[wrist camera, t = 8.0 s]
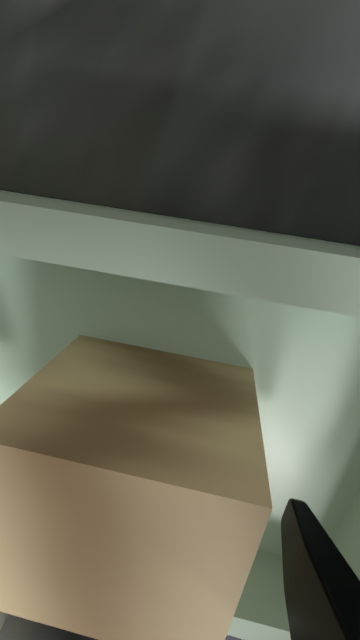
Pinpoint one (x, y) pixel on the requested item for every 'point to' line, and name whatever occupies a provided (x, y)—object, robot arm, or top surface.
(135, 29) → the top surface
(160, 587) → the oak block
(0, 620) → the cream tub
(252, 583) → the green tote
